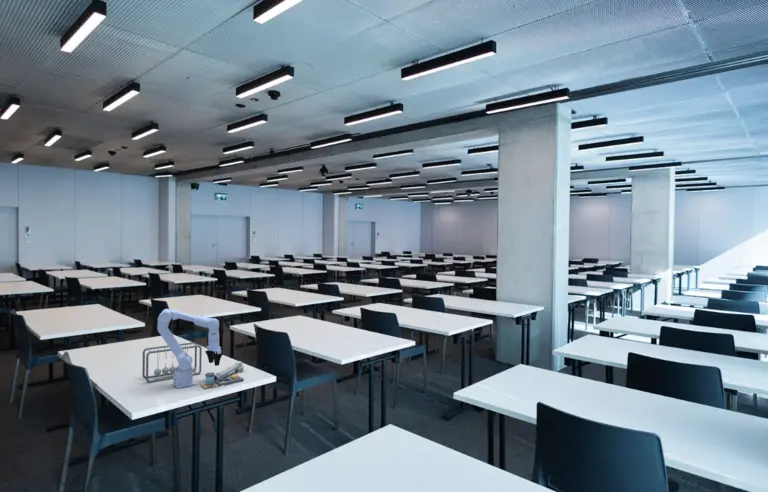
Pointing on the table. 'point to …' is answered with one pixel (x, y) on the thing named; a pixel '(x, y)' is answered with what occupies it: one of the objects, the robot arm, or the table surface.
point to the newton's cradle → (165, 370)
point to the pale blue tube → (229, 370)
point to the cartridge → (209, 379)
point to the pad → (208, 386)
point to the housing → (230, 381)
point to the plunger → (235, 376)
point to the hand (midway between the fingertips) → (214, 364)
